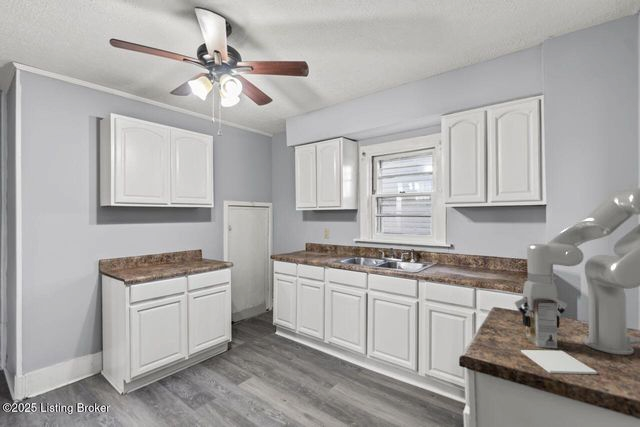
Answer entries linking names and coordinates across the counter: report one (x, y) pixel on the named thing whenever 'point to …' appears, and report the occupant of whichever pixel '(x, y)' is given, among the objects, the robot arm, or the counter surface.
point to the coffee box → (543, 324)
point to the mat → (558, 362)
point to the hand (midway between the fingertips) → (540, 326)
